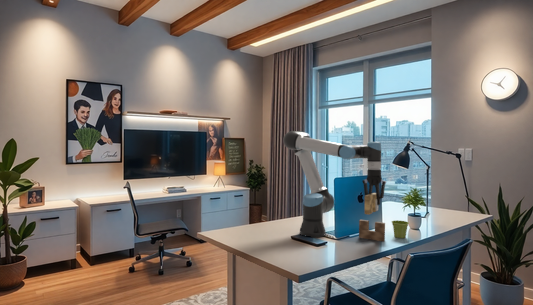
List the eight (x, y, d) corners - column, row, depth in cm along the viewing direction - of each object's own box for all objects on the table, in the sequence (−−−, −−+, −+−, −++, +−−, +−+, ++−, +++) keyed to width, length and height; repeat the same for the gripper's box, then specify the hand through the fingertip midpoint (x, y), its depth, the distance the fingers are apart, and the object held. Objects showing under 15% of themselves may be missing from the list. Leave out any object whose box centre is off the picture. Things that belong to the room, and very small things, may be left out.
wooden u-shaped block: (358, 237, 204) (359, 220, 203) (360, 236, 205) (360, 219, 205) (383, 241, 196) (384, 223, 196) (384, 240, 198) (385, 222, 197)
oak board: (369, 214, 193) (369, 196, 192) (364, 214, 194) (364, 195, 194) (377, 210, 204) (377, 193, 204) (373, 210, 206) (373, 192, 205)
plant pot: (397, 239, 200) (397, 224, 200) (388, 235, 209) (388, 220, 209) (411, 238, 202) (412, 223, 202) (402, 234, 211) (402, 220, 211)
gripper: (358, 168, 204) (358, 209, 204) (386, 170, 195) (385, 212, 195) (363, 168, 210) (363, 207, 210) (390, 169, 201) (390, 210, 201)
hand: (374, 210), depth 203 cm, fingers closed on oak board, 3 cm apart
